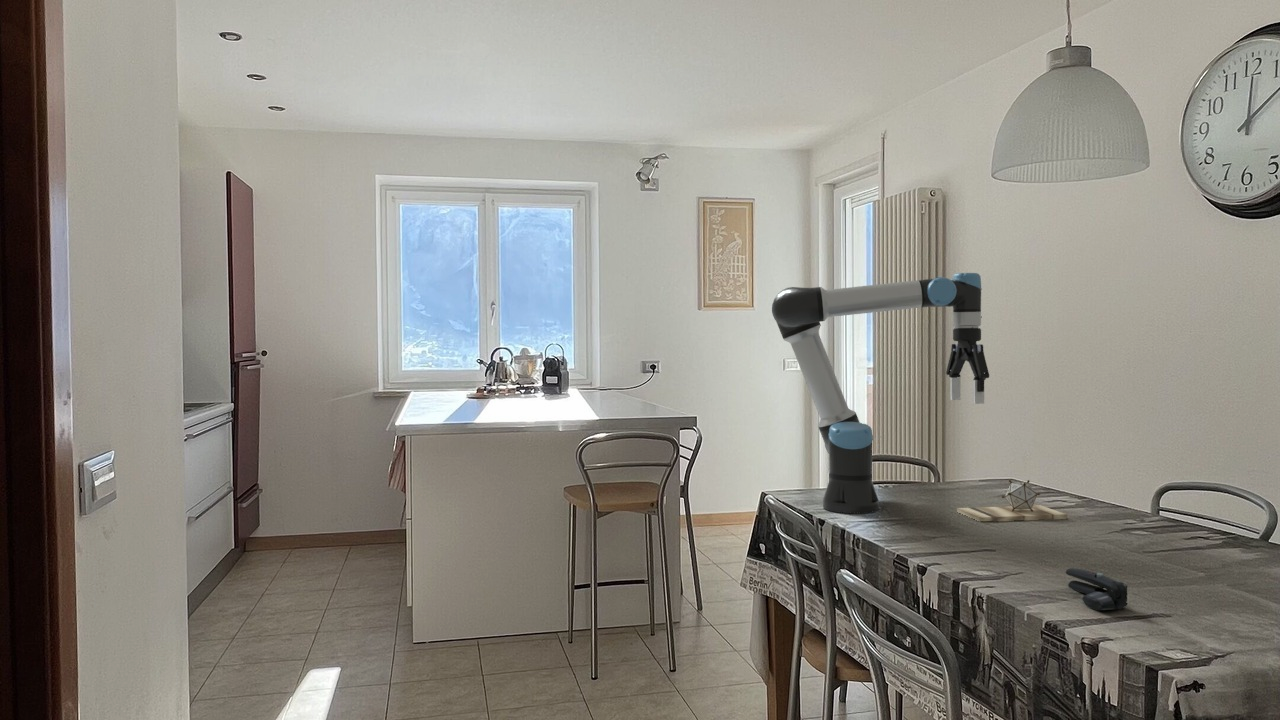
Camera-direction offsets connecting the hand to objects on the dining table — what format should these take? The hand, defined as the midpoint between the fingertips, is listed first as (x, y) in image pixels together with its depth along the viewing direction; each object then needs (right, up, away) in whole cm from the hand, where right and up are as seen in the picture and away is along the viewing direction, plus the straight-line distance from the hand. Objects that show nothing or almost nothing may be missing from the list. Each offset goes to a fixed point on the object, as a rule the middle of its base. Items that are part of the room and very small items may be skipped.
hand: (966, 401), depth 248 cm
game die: (+7, -28, -18) cm, 34 cm away
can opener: (-11, -32, -90) cm, 96 cm away
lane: (+5, -29, -19) cm, 35 cm away
